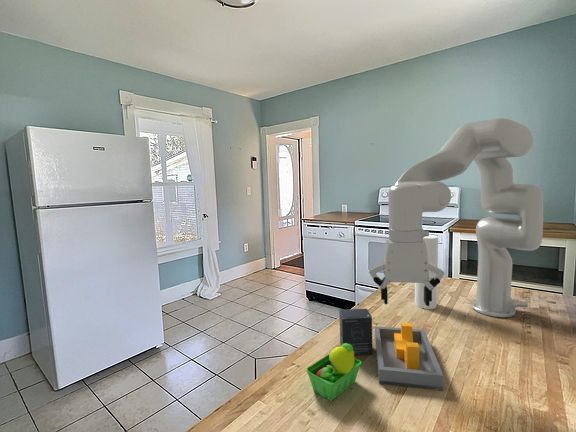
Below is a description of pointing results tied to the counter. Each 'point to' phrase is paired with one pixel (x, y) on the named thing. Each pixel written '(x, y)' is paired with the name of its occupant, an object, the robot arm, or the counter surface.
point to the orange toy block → (407, 347)
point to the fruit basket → (334, 372)
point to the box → (356, 330)
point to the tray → (395, 369)
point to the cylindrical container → (432, 254)
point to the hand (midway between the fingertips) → (405, 302)
